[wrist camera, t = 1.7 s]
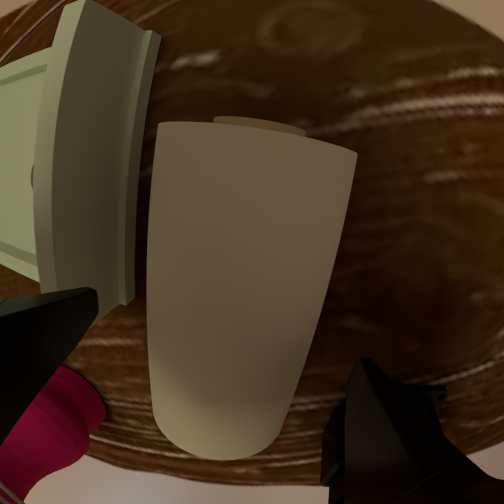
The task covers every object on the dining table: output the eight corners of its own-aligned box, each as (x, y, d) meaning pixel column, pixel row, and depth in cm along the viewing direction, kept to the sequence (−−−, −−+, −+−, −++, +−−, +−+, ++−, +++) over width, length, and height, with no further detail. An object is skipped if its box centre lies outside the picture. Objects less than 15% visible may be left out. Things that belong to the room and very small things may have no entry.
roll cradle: (161, 36, 11) (94, -6, 6) (135, 297, 16) (74, 350, 11) (-11, 82, 14) (-60, 81, 8) (-17, 239, 18) (-62, 258, 13)
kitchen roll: (198, 124, 12) (119, 103, 6) (343, 146, 12) (385, 136, 6) (178, 358, 16) (132, 438, 10) (286, 383, 16) (275, 476, 10)
